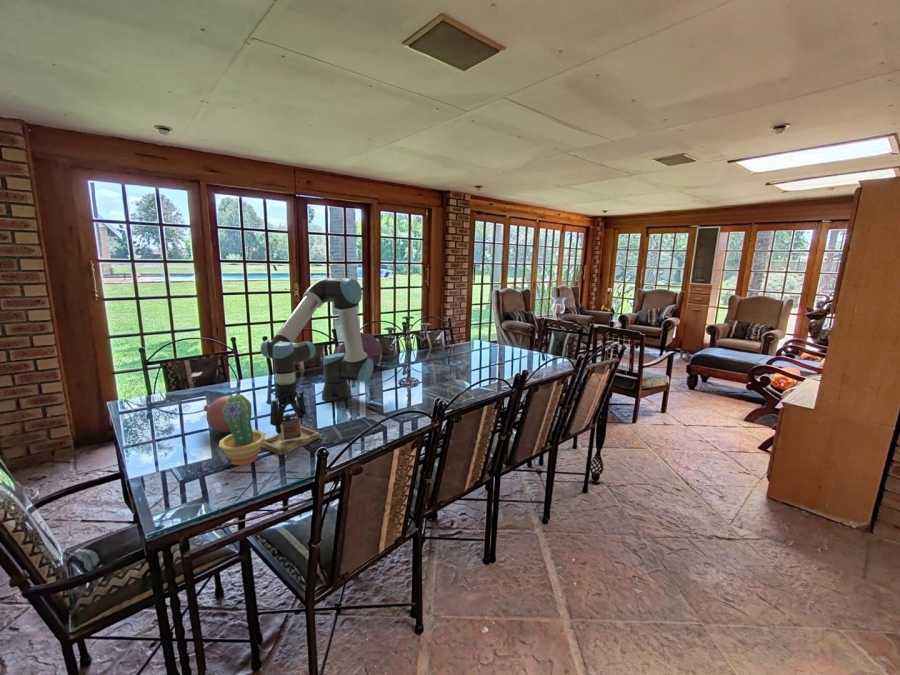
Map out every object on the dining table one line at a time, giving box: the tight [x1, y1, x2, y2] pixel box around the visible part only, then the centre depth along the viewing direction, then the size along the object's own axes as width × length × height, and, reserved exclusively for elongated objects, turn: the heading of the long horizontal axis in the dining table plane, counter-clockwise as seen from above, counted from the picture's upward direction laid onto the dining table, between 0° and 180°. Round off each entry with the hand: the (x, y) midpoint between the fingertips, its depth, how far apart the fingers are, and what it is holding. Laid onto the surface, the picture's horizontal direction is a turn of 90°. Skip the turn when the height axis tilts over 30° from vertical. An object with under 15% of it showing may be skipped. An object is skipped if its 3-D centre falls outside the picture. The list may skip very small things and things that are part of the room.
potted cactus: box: [218, 393, 266, 466], centre depth 145 cm, size 15×15×25 cm
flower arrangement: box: [332, 331, 383, 362], centre depth 257 cm, size 35×24×28 cm
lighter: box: [281, 412, 301, 440], centre depth 160 cm, size 8×3×10 cm, turn 114°
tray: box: [261, 425, 320, 456], centre depth 161 cm, size 18×13×2 cm
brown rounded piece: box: [203, 395, 231, 433], centre depth 171 cm, size 15×20×15 cm
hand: (290, 436), depth 161 cm, fingers closed on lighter, 7 cm apart
